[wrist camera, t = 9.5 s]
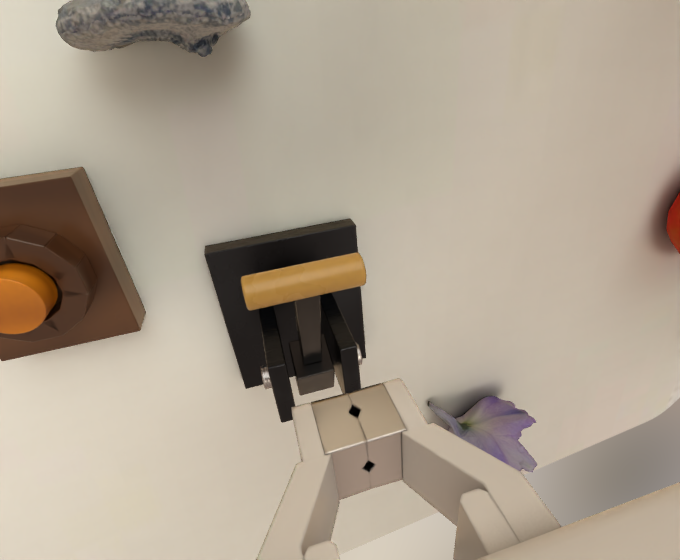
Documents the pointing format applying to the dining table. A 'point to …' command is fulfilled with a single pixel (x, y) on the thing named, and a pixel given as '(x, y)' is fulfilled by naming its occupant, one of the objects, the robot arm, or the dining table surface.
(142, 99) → the dining table surface
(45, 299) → the button
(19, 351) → the button block
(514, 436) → the flower
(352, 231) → the switch bracket
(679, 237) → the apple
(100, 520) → the dining table surface
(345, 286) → the switch lever
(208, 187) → the dining table surface
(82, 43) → the grey rock
